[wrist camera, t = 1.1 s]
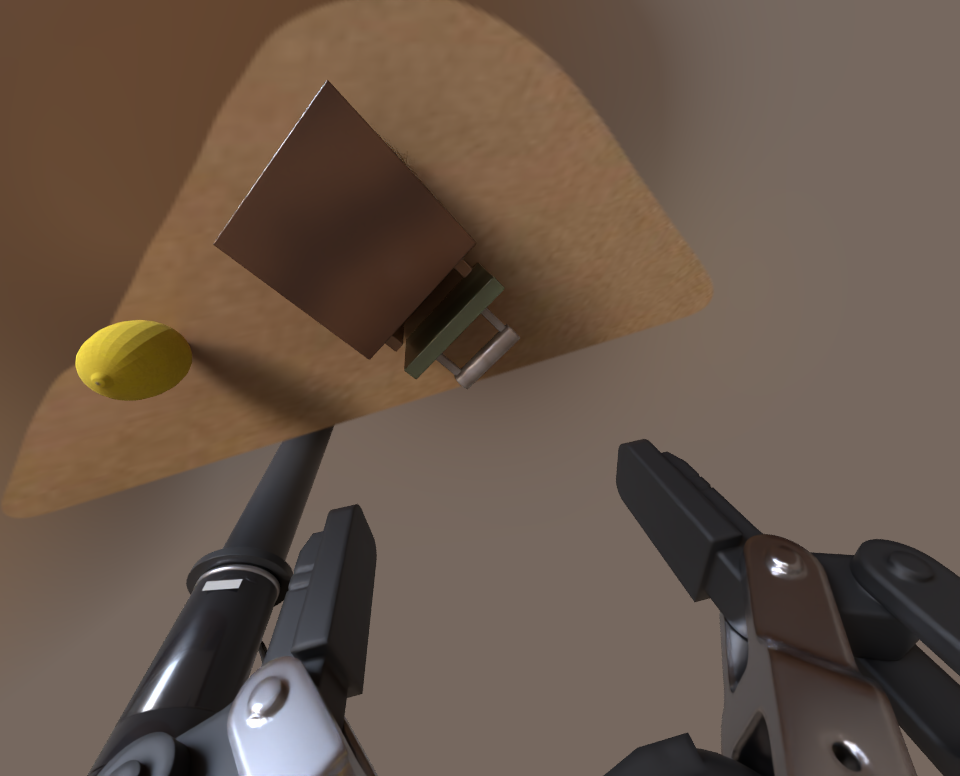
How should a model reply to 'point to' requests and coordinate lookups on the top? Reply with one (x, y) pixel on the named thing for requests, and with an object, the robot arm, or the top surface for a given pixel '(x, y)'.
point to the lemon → (134, 360)
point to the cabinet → (344, 227)
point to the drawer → (457, 328)
